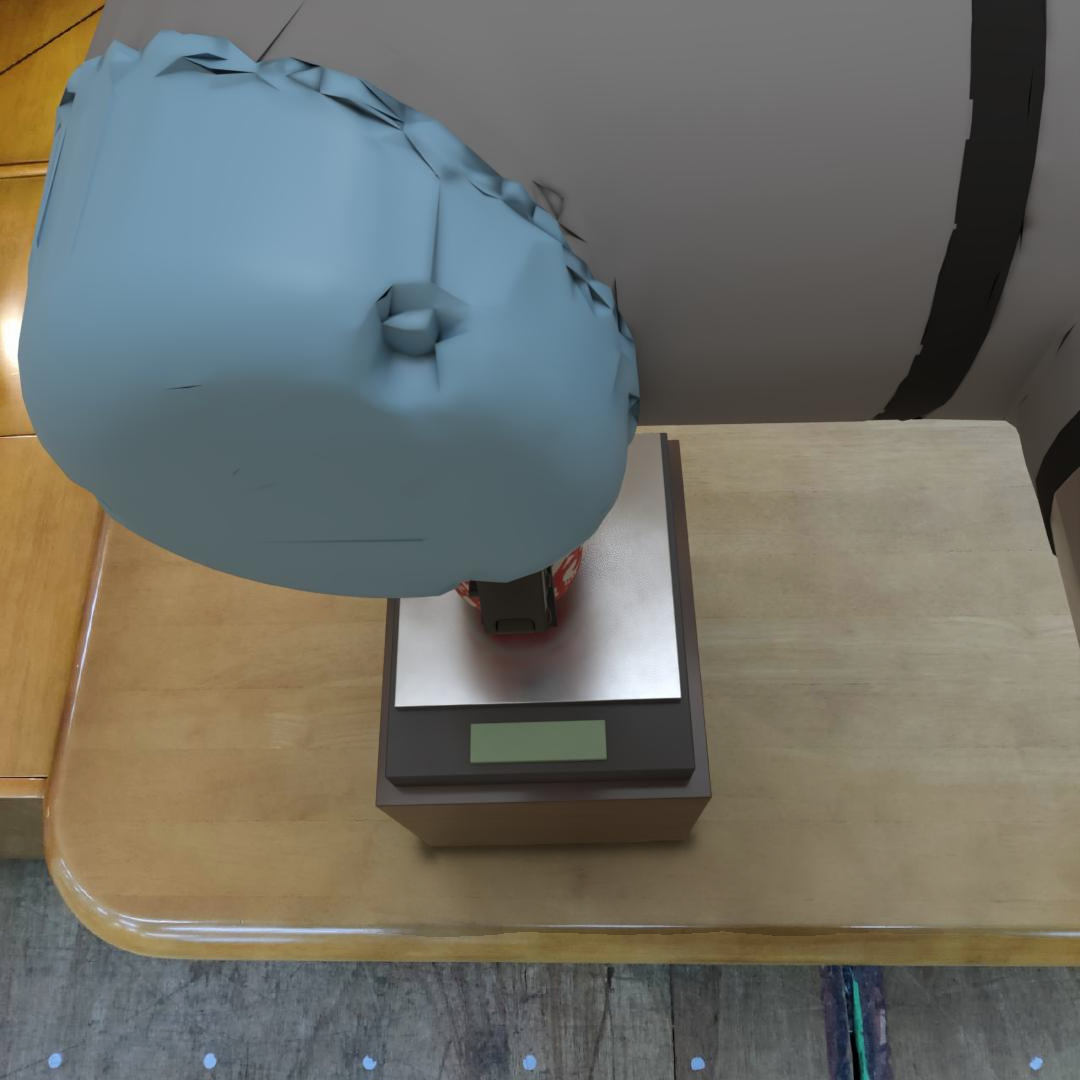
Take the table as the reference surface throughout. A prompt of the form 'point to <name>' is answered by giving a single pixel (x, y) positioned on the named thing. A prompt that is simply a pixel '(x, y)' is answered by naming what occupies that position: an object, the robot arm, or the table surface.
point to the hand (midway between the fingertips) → (527, 517)
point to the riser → (563, 805)
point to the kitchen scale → (556, 665)
